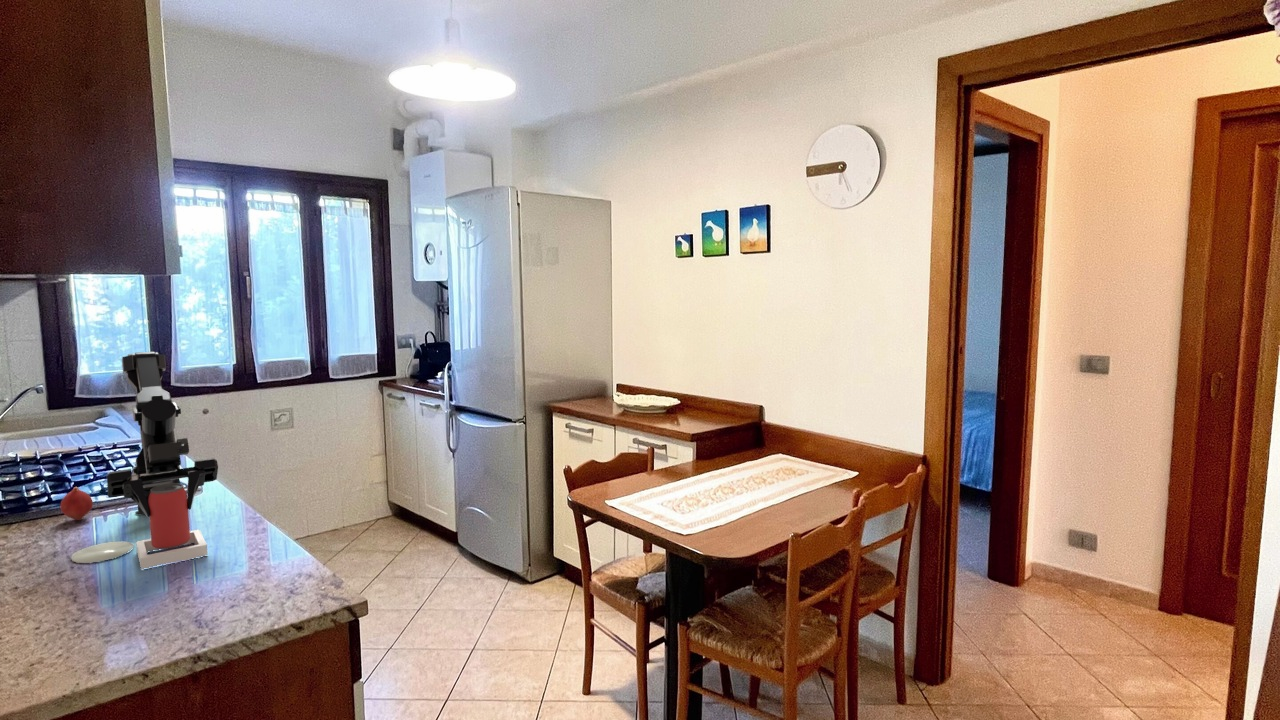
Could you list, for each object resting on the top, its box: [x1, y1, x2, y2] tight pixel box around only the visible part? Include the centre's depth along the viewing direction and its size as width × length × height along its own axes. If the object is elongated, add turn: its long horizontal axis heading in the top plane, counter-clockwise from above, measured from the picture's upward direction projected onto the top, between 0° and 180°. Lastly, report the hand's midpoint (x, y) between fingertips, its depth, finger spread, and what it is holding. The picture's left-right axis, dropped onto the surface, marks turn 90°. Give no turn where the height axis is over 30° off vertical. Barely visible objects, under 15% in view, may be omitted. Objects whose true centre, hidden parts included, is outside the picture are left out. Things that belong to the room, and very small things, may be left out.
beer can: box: [148, 483, 191, 550], centre depth 138 cm, size 7×7×12 cm
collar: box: [135, 529, 209, 570], centre depth 138 cm, size 11×11×2 cm
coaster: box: [71, 540, 134, 564], centre depth 139 cm, size 10×10×1 cm
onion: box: [59, 486, 94, 521], centre depth 158 cm, size 6×6×8 cm
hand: (169, 512), depth 136 cm, fingers closed on beer can, 6 cm apart
